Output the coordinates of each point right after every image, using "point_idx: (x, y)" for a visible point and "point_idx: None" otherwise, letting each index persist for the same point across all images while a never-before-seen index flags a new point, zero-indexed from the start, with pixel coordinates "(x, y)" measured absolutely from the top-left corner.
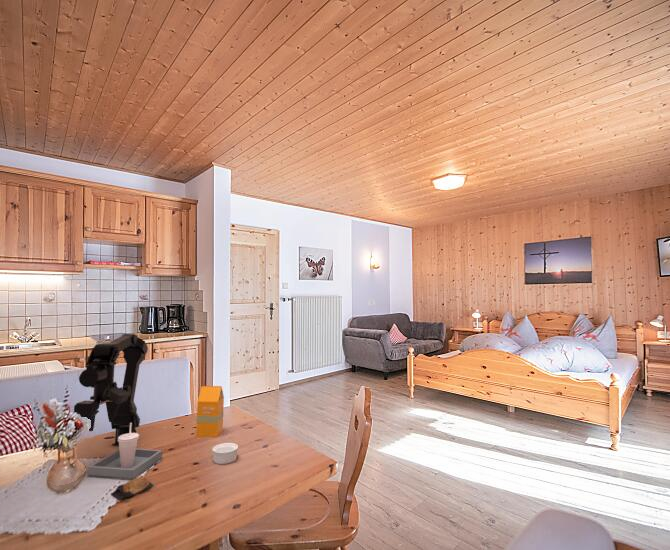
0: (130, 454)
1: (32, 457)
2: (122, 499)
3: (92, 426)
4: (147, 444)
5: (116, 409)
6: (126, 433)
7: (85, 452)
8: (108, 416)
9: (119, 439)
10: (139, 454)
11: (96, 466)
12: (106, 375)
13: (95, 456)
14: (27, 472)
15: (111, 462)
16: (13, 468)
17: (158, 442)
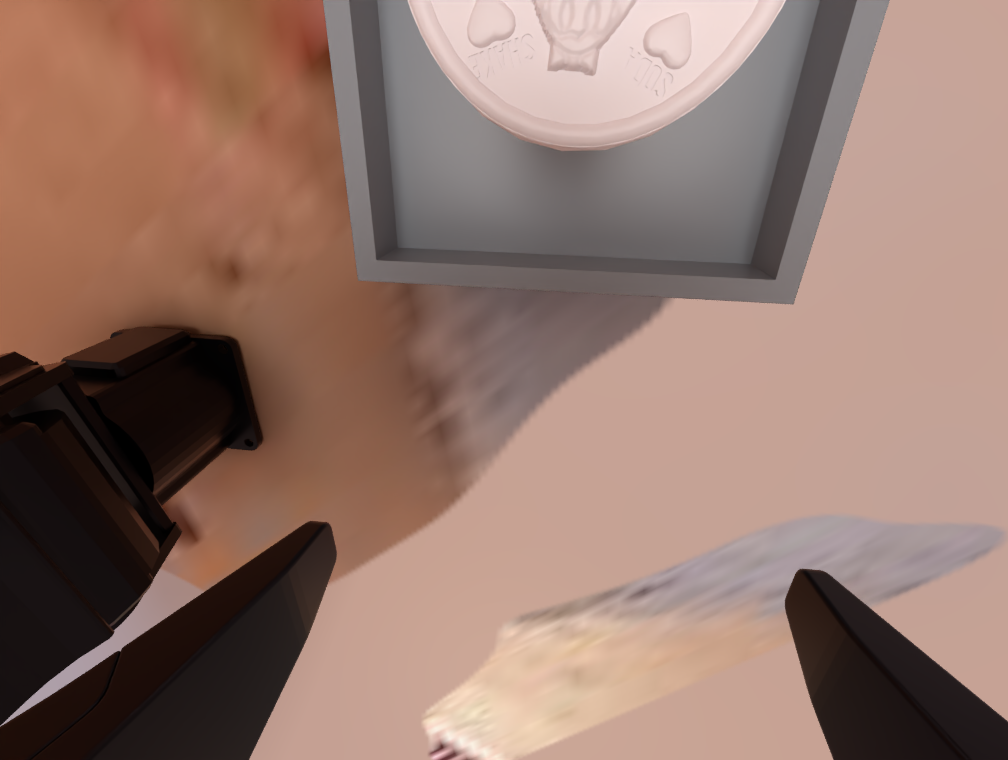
0: None
1: (504, 687)
2: None
3: (918, 648)
4: (129, 198)
5: (72, 722)
6: (150, 402)
7: (395, 523)
8: (292, 658)
9: (780, 7)
10: (374, 48)
11: (794, 231)
12: None
13: (432, 439)
14: (672, 625)
15: (536, 246)
16: (626, 689)
17: (49, 119)
